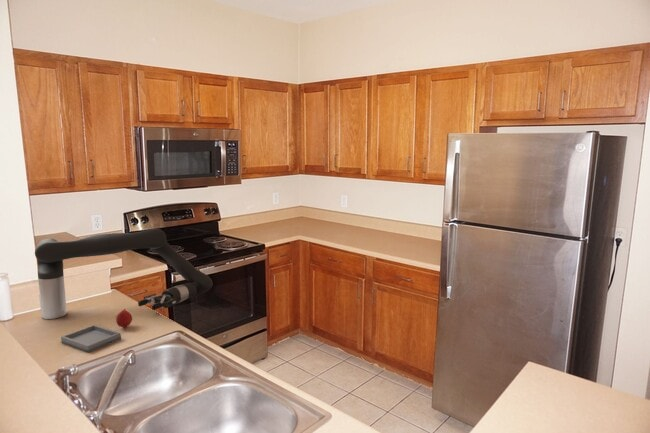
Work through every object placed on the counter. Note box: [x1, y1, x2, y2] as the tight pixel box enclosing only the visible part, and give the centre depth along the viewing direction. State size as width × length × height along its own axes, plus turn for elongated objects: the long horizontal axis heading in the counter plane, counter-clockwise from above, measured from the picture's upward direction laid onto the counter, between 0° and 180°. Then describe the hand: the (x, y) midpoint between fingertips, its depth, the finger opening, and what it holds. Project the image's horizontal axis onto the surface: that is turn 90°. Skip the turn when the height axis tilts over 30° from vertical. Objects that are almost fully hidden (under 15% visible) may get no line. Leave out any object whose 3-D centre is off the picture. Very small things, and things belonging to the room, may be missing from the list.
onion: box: [115, 308, 133, 329], centre depth 174 cm, size 6×6×8 cm
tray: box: [60, 324, 122, 354], centre depth 162 cm, size 16×13×2 cm
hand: (145, 305), depth 183 cm, fingers open, 8 cm apart
